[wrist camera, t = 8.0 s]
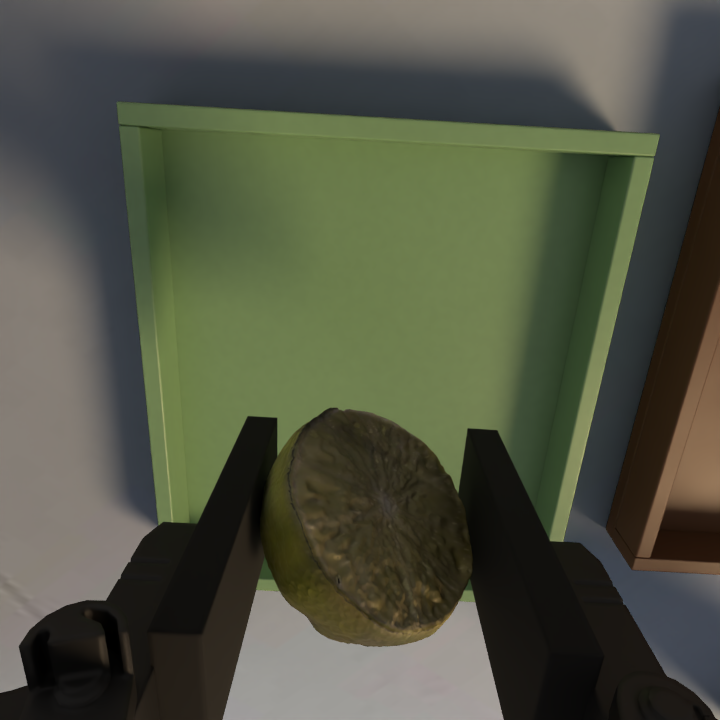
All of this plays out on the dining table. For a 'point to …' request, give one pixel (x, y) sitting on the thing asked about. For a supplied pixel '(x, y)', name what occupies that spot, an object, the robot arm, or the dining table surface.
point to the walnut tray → (680, 412)
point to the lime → (365, 530)
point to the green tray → (375, 283)
